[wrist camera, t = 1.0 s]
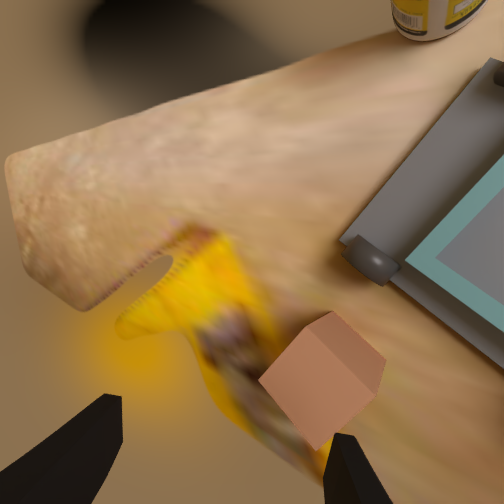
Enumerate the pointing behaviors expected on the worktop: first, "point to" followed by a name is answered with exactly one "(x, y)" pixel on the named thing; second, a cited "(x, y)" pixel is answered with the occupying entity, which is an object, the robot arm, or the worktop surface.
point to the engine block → (324, 378)
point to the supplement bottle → (433, 17)
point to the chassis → (446, 218)
